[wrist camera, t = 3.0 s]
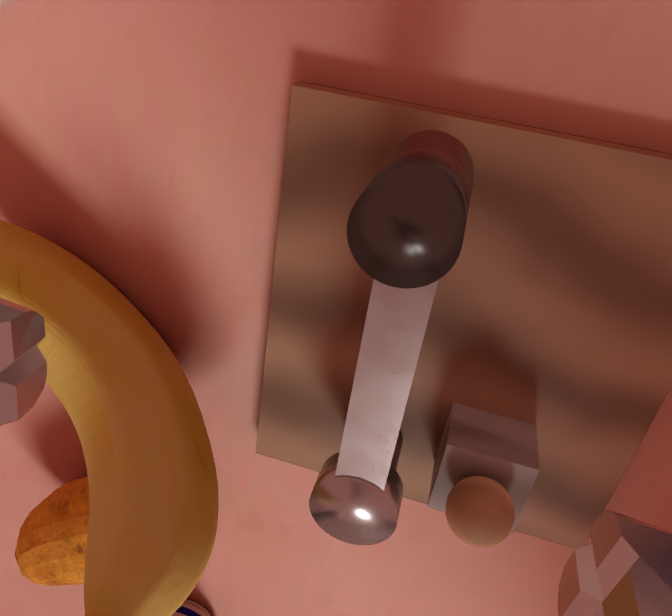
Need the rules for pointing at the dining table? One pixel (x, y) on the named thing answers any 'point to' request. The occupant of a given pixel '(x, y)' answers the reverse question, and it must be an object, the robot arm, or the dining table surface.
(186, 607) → the beverage can
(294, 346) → the base
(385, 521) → the lever
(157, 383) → the banana
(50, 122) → the dining table surface
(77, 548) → the potato
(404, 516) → the dining table surface
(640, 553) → the robot arm
